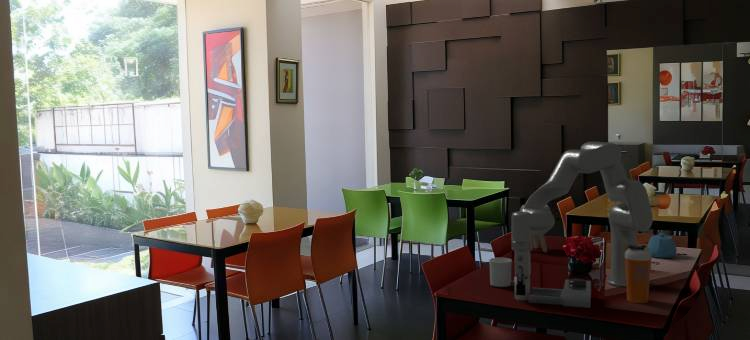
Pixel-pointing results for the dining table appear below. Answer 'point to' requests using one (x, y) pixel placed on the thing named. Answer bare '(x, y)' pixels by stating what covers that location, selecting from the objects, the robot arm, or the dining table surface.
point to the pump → (527, 289)
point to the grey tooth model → (539, 232)
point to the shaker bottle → (637, 273)
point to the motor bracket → (564, 294)
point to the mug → (500, 272)
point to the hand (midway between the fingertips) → (522, 291)
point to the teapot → (662, 246)
